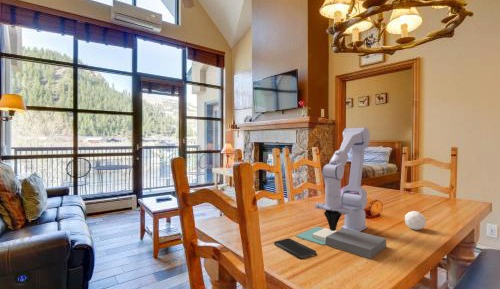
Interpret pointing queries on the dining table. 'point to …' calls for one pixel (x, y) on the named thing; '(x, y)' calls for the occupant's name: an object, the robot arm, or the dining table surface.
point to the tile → (322, 234)
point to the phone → (295, 248)
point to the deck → (356, 242)
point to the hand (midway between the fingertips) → (333, 230)
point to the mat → (308, 235)
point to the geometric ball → (415, 220)
